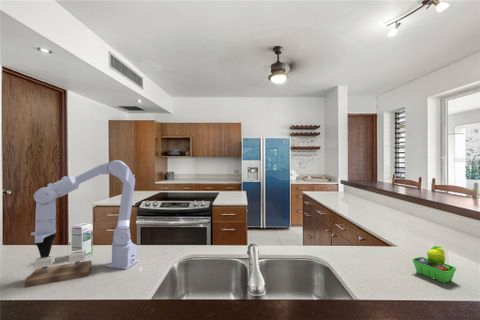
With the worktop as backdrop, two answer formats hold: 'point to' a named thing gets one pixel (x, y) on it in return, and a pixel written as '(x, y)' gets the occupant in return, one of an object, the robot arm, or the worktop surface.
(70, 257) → the white square block
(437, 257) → the fruit basket
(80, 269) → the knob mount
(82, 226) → the syrup box
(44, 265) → the knob outer
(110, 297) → the worktop surface
